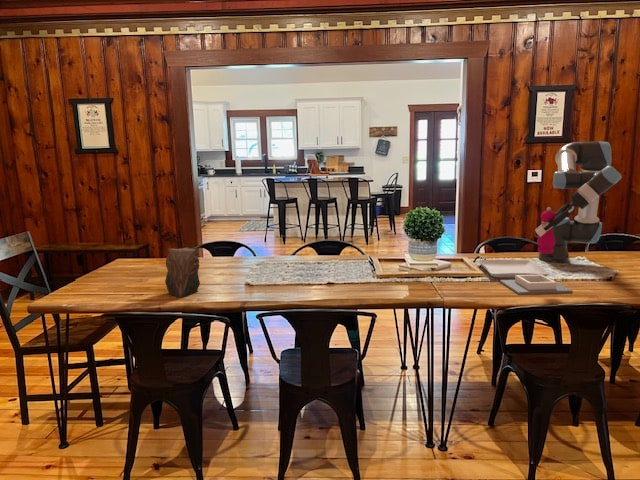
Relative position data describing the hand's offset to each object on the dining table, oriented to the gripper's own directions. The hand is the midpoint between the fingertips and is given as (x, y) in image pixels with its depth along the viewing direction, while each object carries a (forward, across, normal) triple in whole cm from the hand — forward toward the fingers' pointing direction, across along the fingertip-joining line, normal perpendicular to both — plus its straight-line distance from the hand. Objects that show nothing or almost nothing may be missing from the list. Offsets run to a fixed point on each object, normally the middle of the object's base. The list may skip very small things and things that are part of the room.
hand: (537, 233), depth 203 cm
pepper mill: (+3, 0, -9) cm, 9 cm away
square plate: (+24, +22, -11) cm, 35 cm away
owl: (+120, -61, +86) cm, 159 cm away
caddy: (+17, -1, -18) cm, 25 cm away
